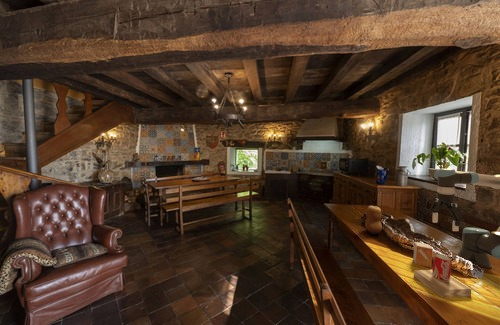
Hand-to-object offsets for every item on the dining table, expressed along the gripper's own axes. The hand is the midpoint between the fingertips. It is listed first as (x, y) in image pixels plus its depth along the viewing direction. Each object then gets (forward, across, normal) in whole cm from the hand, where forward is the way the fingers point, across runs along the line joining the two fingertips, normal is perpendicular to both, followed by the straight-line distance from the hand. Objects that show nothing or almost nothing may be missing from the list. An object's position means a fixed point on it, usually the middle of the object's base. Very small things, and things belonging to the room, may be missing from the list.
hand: (444, 226), depth 120 cm
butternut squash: (+28, -54, -14) cm, 63 cm away
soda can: (+24, +16, -15) cm, 33 cm away
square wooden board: (+28, +16, -15) cm, 36 cm away
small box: (+28, -6, -8) cm, 30 cm away
